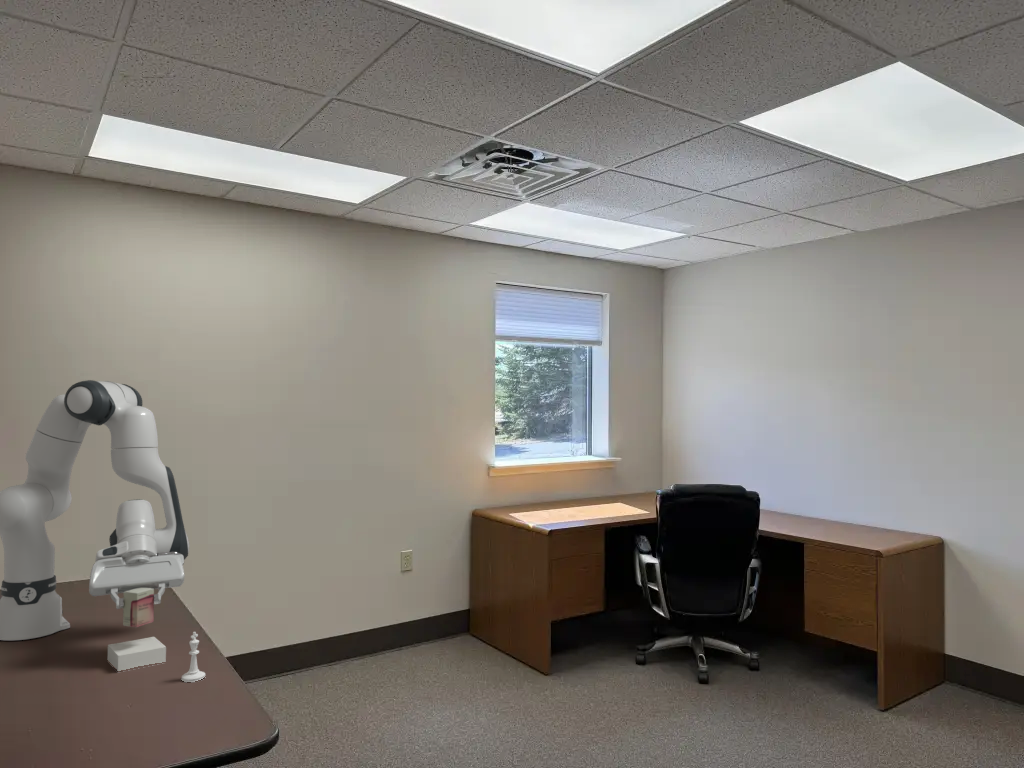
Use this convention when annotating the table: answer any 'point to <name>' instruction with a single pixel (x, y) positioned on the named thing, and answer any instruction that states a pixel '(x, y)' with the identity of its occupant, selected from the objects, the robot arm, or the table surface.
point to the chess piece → (193, 663)
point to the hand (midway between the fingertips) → (138, 605)
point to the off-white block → (136, 653)
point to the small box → (138, 607)
